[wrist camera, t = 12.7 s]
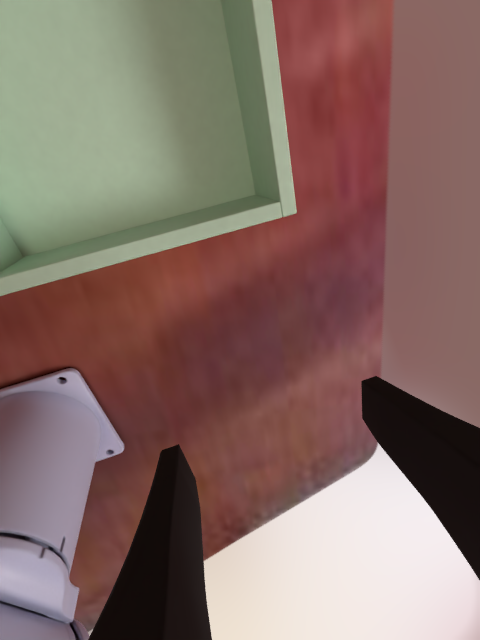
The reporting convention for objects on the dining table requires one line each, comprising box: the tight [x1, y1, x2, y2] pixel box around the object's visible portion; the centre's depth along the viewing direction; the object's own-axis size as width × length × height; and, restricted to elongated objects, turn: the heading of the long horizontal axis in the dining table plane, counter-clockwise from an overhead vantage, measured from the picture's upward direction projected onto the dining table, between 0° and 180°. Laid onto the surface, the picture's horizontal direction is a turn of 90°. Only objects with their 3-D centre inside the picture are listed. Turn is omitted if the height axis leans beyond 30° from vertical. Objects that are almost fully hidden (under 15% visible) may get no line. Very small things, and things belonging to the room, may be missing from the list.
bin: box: [0, 0, 297, 296], centre depth 11 cm, size 14×13×4 cm
